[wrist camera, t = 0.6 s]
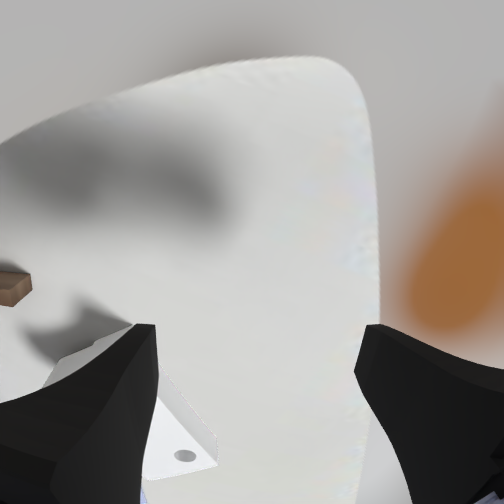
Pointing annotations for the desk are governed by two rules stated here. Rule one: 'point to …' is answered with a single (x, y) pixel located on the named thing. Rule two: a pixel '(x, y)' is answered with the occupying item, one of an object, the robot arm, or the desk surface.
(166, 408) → the bracket
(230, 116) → the desk surface
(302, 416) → the desk surface
